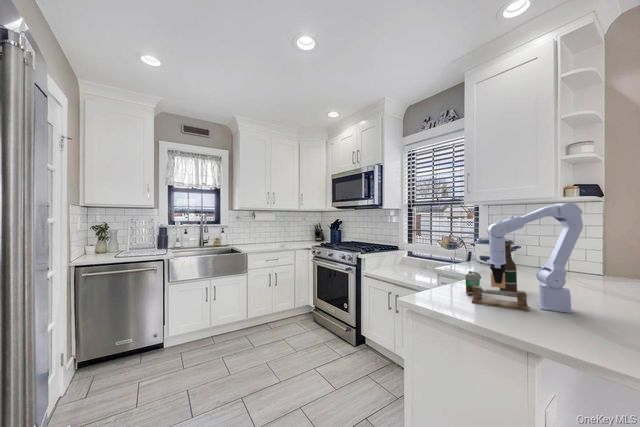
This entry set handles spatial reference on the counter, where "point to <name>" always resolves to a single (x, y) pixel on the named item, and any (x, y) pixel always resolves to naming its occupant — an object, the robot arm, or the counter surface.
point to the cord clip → (498, 283)
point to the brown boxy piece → (518, 305)
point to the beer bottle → (509, 271)
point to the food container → (472, 281)
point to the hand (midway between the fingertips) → (498, 281)
